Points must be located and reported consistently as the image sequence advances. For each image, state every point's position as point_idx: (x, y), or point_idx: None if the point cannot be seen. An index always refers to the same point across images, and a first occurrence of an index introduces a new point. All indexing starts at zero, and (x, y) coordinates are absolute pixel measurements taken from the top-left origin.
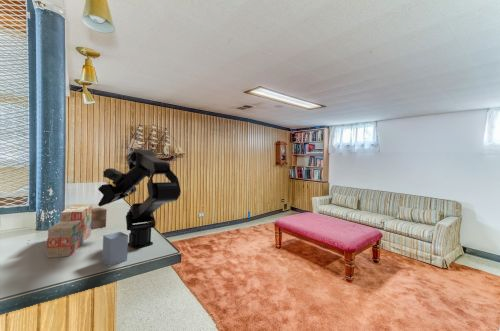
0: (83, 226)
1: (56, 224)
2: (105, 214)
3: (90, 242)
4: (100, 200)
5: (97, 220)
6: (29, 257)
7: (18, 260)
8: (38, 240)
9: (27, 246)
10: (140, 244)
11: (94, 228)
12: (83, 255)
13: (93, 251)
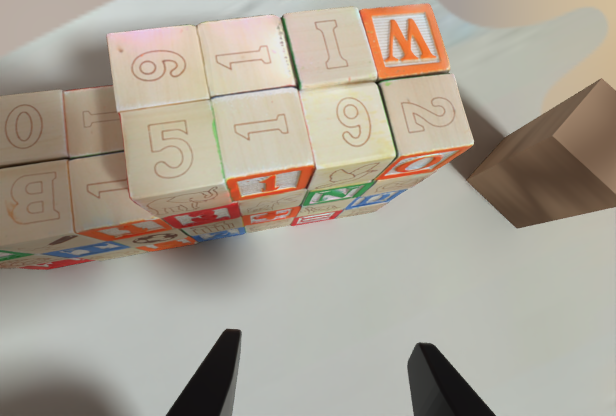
0: (228, 219)
1: (22, 104)
2: (582, 208)
3: (244, 272)
4: (176, 401)
5: (515, 180)
6: None
7: (33, 83)
8: None
9: None
10: None
11: (473, 183)
12: (42, 334)
13: (96, 358)
